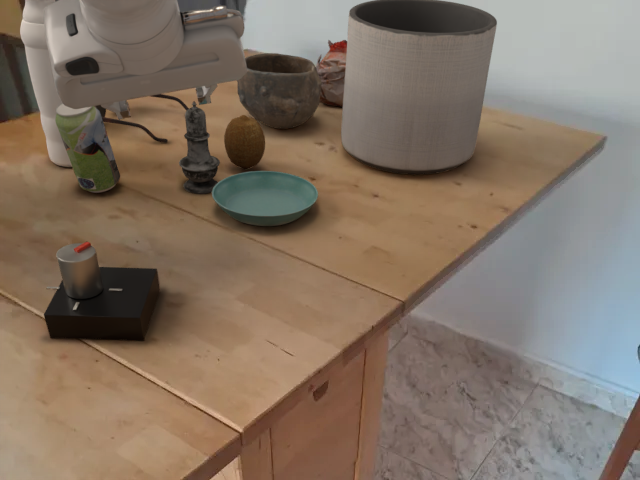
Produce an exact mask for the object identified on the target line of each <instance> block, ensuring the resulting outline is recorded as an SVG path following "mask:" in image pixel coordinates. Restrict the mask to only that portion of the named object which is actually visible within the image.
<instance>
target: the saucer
mask: <svg viewBox="0 0 640 480" xmlns="http://www.w3.org/2000/svg"><path fill="white" fill-rule="evenodd" d="M217 182H218V183H217V184H216V185H215V186H214V188H213V190H212V192H211V197H212V199H213V201H214V202H215V203H216V205H217V206H218V207H219V208H220V210H222V211H223V212H224V213H225V214H226V215H228V216H229V217H230V218H233V219H234V220H236V221H238V222H241V223H243V224H247V225H251V226H256V227H257V226H259V227H260V226H261V227H275V226H281V225H286V224H289V223H292V222H294V221H297V220H298V219H300V218H301V217H303V216H304V215H305V214H307V212H308V211H309V210H310V209H311V208H312V207H313V206H314V205H315V203H316V202H317V200H318V198H319V191H318V188H317V187H316V186H315V185H314V184H313V183H312V182H311V181H309V180H308V179H305V178H304V177H300V176H299V175H296V174H292V173H287V172H282V171H275V170H252V171H243V172H239V173H236V174H235V173H234V174H232V175H229V176H227V177H225V178H222V179H221V180H220V181H217Z"/></svg>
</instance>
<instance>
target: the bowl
mask: <svg viewBox="0 0 640 480" xmlns="http://www.w3.org/2000/svg"><path fill="white" fill-rule="evenodd" d="M245 60H246V66H247V73H246V74H245V75H244V76H243V78H242V79H240V80H237V81H236V82H237V95H238V99H239V102H240V104H241V105H242V106H243V108H244V109H245V110H246V111H247V112H248V114H249V115H250V117H251V118H254V119H255V120H257V122H260V123H262V124H264V125H266V126H267V127H271V128H274V129H281V130H284V129H285V130H286V129H291V128H295V127H298V126H301V125H303V124H305V123H306V122H307V121H308V120H309V119H310V118H311V117H313V115H314V114H315V113H316V111H317V109H318V107H319V105H320V94H321V86H322V81H321V80H320V78H319V76H318V73H317V70H316V65H315V64H314V62H313V61H311V60H310V59H308V58H305V57H302V56H297V55H291V54H283V53H277V52H265V53H257V54H253V55H249V56H245Z"/></svg>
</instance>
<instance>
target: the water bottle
mask: <svg viewBox="0 0 640 480" xmlns="http://www.w3.org/2000/svg"><path fill="white" fill-rule="evenodd" d="M24 2H25V3H24V7H23V10H22V20H21V22H20V27H19V34H20V39H21V41H22V43H23V44H24V51H25V57H26V58H25V59H26V63H27V68H28V72H29V76H30V77H29V78H30V81H31V85H32V89H33V93H34V97H35V100H36V103H37V106H38V110H39V113H40V124H41V128H42V131H43V133H44V136H45V142H46V143H45V144H46V147H47V153H48V158H49V160H50V161H51V162H52V163H53V164H55V165H57V166H59V167H64V168H73V167H72V164H71V162H70V159H69V156H68V154H67V151H66V148H65V146H64V143H63V141H62V138H61V135H60V133H59V130H58V127H57V125H56V121H55V120H56V114H57V112H56V108H57V107H58V106H59V105H60V104H61V103H62V101H61V99H60V97H59V95H58V92H57V89H56V86H55V82H54V77H53V72H52V67H51V61H50V55H49V51H48V47H47V42H46V36H45V28H44V9H45V7H47V6H48V5H50V4H52V3H54V2H56V0H24Z"/></svg>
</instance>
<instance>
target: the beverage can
mask: <svg viewBox="0 0 640 480" xmlns="http://www.w3.org/2000/svg"><path fill="white" fill-rule="evenodd" d="M56 112H57V114H56V120H55V121H56V125H57V127H58V130H59V133H60V135H61V138H62V141H63V143H64V146H65V148H66V151H67V154H68V156H69V159H70V162H71V164H72V167H71V168H72V170H73V172H74V175H75V177H76V180H77V184H78V186H79V187H80V188H81V189H82V190H84V191H88V192H90V193H96V194H97V193H98V194H99V193H104V192H107V191H109V190H112V189H113V188H114V187H115V186H116V184H118V183H119V181H120V179H121V172H120V170H119V167H118V164H117V161H116V157H115V154H114V151H113V148H112V144H111V142H110V139H109V135H108V133H107V130H106V127H105V122H103V120H102V117H101V114H100V111H99V110H98V108H97V107H96V106H91V107H86V108H81V109H72V108H70V107H67V106H65V105H64V104H63V103H61V104H60V105H59V106H58V107H57V108H56Z"/></svg>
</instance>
